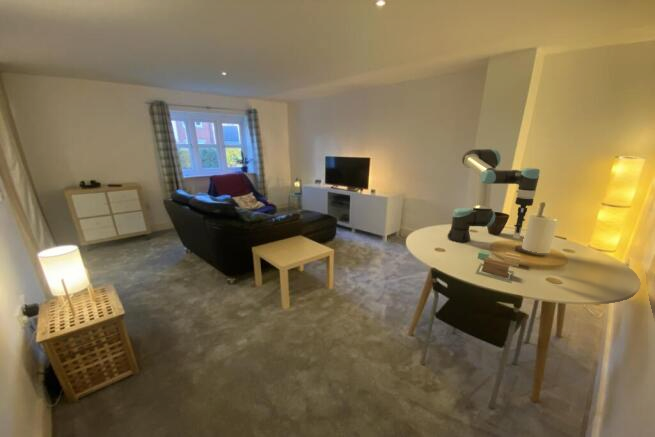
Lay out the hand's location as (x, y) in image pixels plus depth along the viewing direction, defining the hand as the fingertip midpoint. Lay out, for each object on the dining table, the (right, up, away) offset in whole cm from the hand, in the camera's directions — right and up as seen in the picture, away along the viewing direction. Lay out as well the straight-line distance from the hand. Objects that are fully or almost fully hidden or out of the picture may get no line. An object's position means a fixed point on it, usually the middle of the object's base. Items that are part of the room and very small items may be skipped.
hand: (517, 234), depth 143 cm
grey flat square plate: (-16, -21, -5) cm, 27 cm away
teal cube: (-12, -16, +12) cm, 23 cm away
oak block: (0, -18, +5) cm, 19 cm away
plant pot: (+25, -3, +58) cm, 63 cm away
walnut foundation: (-16, -20, -6) cm, 26 cm away
